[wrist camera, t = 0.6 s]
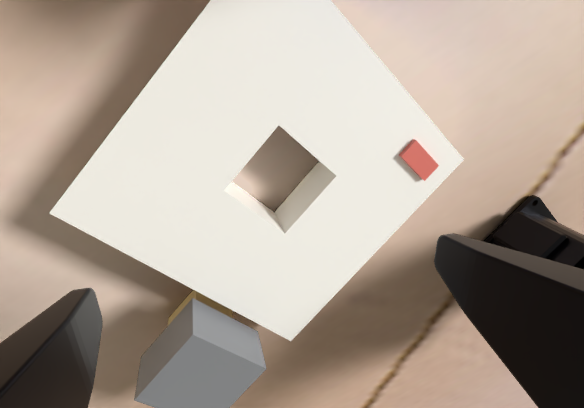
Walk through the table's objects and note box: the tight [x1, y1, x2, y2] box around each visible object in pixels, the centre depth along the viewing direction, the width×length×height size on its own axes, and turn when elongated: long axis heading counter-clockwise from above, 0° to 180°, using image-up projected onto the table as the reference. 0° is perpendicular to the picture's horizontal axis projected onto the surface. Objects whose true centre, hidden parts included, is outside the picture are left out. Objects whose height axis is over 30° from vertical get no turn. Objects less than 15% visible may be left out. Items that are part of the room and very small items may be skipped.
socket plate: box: [50, 0, 464, 341], centre depth 21 cm, size 16×16×3 cm
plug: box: [134, 290, 266, 408], centre depth 22 cm, size 5×5×6 cm
